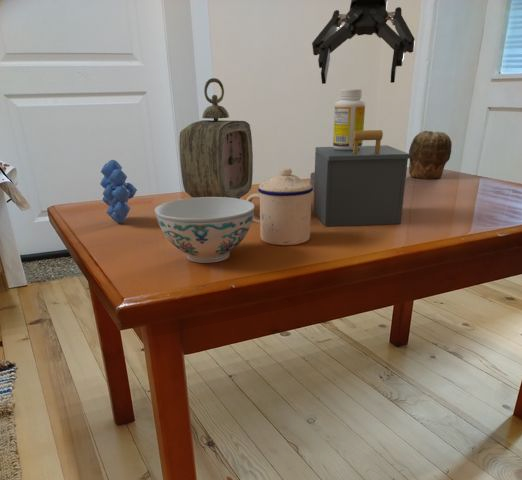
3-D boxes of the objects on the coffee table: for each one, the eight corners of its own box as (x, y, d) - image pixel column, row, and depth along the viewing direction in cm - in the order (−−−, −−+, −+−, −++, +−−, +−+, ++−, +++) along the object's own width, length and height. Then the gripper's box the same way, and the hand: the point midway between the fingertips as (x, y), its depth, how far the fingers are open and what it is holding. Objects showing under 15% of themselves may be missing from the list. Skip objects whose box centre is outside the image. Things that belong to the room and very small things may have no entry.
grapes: (150, 226, 98) (143, 160, 92) (116, 231, 95) (105, 163, 89) (132, 214, 107) (124, 154, 101) (99, 219, 104) (89, 156, 98)
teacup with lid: (318, 235, 90) (321, 166, 85) (299, 248, 83) (300, 174, 78) (258, 228, 95) (257, 162, 89) (235, 241, 88) (232, 170, 82)
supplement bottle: (360, 147, 99) (364, 88, 94) (364, 150, 94) (368, 89, 89) (331, 147, 99) (334, 89, 95) (333, 151, 95) (336, 89, 90)
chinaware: (231, 238, 89) (229, 193, 86) (272, 261, 77) (272, 210, 74) (148, 251, 83) (142, 203, 79) (180, 278, 71) (174, 223, 68)
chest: (400, 223, 96) (408, 158, 91) (324, 226, 95) (327, 160, 90) (381, 209, 108) (387, 149, 102) (313, 211, 107) (315, 151, 101)
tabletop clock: (221, 223, 98) (214, 77, 87) (182, 219, 102) (169, 78, 90) (253, 208, 110) (250, 77, 98) (217, 205, 113) (210, 78, 102)
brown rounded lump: (413, 181, 136) (418, 132, 131) (401, 174, 146) (406, 129, 141) (453, 180, 137) (460, 131, 131) (439, 173, 146) (445, 128, 141)
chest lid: (409, 158, 90) (412, 130, 88) (328, 160, 89) (329, 132, 87) (387, 149, 102) (389, 124, 100) (315, 151, 101) (316, 126, 99)
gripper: (309, -18, 105) (293, 63, 100) (434, -26, 99) (425, 60, 94) (312, 15, 112) (298, 93, 107) (430, 10, 106) (421, 91, 101)
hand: (357, 77), depth 100 cm, fingers open, 13 cm apart
